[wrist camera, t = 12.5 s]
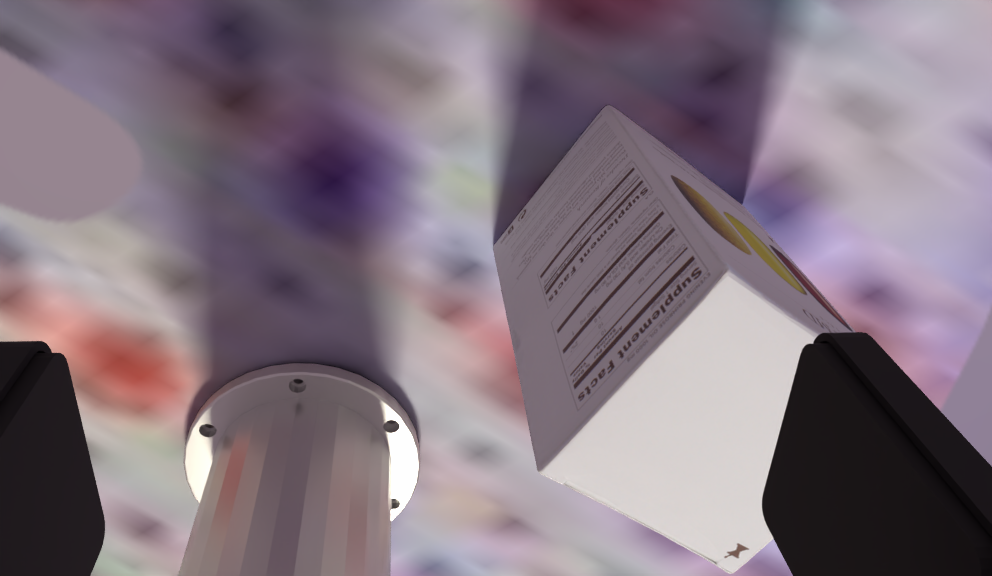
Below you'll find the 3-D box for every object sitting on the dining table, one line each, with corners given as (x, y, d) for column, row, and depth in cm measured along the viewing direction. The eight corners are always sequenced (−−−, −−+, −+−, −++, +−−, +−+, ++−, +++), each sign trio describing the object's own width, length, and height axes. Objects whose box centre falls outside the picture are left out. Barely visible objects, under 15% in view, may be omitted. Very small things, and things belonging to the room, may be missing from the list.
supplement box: (747, 204, 41) (937, 410, 27) (628, 336, 45) (739, 585, 30) (603, 96, 38) (730, 265, 23) (485, 247, 41) (531, 479, 26)
